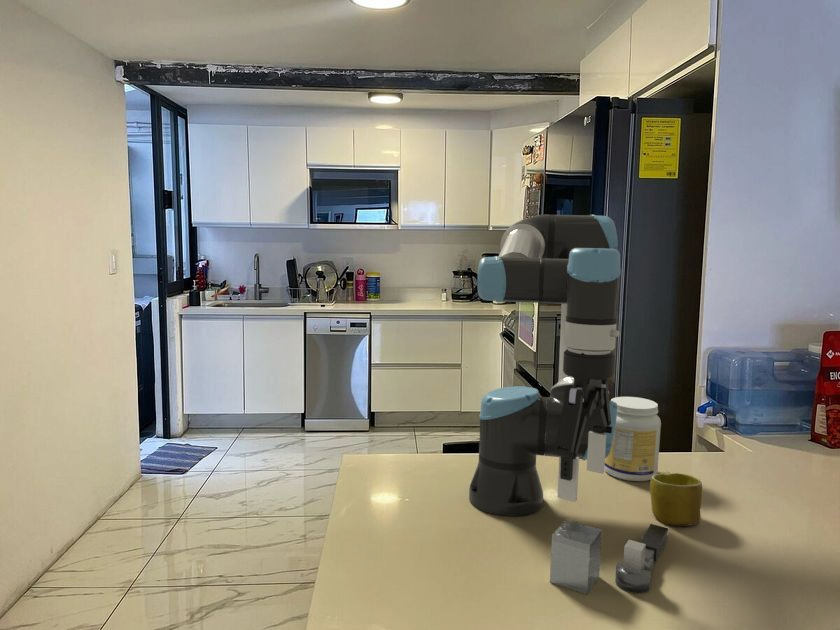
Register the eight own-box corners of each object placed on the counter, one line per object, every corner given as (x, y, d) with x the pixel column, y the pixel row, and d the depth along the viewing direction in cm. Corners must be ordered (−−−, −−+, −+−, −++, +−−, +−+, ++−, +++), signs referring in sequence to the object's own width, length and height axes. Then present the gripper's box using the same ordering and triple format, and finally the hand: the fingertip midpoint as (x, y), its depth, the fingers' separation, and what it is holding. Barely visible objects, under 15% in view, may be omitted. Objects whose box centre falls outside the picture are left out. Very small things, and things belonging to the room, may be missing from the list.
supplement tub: (612, 459, 154) (616, 392, 152) (663, 471, 147) (668, 401, 145) (594, 474, 145) (598, 403, 142) (648, 487, 137) (653, 412, 135)
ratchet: (643, 535, 115) (646, 501, 115) (673, 543, 113) (676, 508, 112) (611, 586, 98) (613, 547, 97) (645, 597, 95) (648, 556, 95)
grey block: (549, 582, 99) (552, 534, 98) (563, 565, 104) (565, 520, 103) (587, 594, 96) (589, 545, 95) (599, 576, 101) (601, 529, 100)
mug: (717, 525, 116) (701, 471, 117) (660, 536, 118) (645, 483, 119) (705, 510, 127) (690, 461, 129) (653, 520, 130) (639, 472, 131)
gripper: (587, 365, 83) (579, 519, 85) (635, 342, 104) (627, 466, 106) (534, 359, 87) (527, 506, 89) (590, 337, 108) (583, 457, 110)
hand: (582, 484), depth 98 cm, fingers open, 13 cm apart
